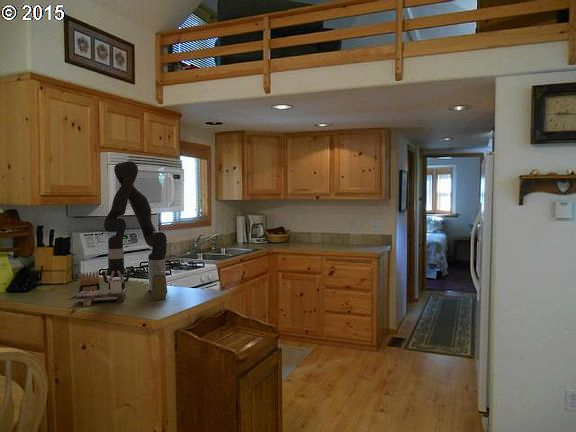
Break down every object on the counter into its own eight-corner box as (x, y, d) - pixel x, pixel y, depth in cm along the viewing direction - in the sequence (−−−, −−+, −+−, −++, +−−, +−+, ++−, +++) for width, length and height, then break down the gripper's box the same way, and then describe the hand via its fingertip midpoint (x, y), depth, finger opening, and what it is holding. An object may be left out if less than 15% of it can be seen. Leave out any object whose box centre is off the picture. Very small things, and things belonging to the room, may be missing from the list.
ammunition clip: (79, 295, 236) (78, 273, 235) (78, 294, 237) (77, 272, 237) (100, 292, 242) (99, 271, 242) (99, 291, 244) (98, 270, 243)
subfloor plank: (127, 296, 231) (126, 287, 231) (123, 303, 216) (123, 294, 216) (82, 299, 226) (82, 290, 226) (75, 306, 210) (75, 297, 210)
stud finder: (123, 289, 228) (122, 277, 227) (121, 293, 219) (120, 280, 219) (112, 290, 226) (112, 278, 226) (110, 293, 218) (110, 281, 217)
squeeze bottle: (153, 301, 219) (152, 266, 218) (150, 298, 226) (149, 264, 225) (169, 299, 222) (168, 264, 222) (165, 296, 230) (165, 262, 229)
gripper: (131, 255, 227) (132, 288, 228) (102, 256, 224) (103, 289, 224) (130, 257, 220) (131, 290, 221) (99, 258, 216) (100, 292, 217)
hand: (116, 290), depth 223 cm, fingers closed on stud finder, 5 cm apart
